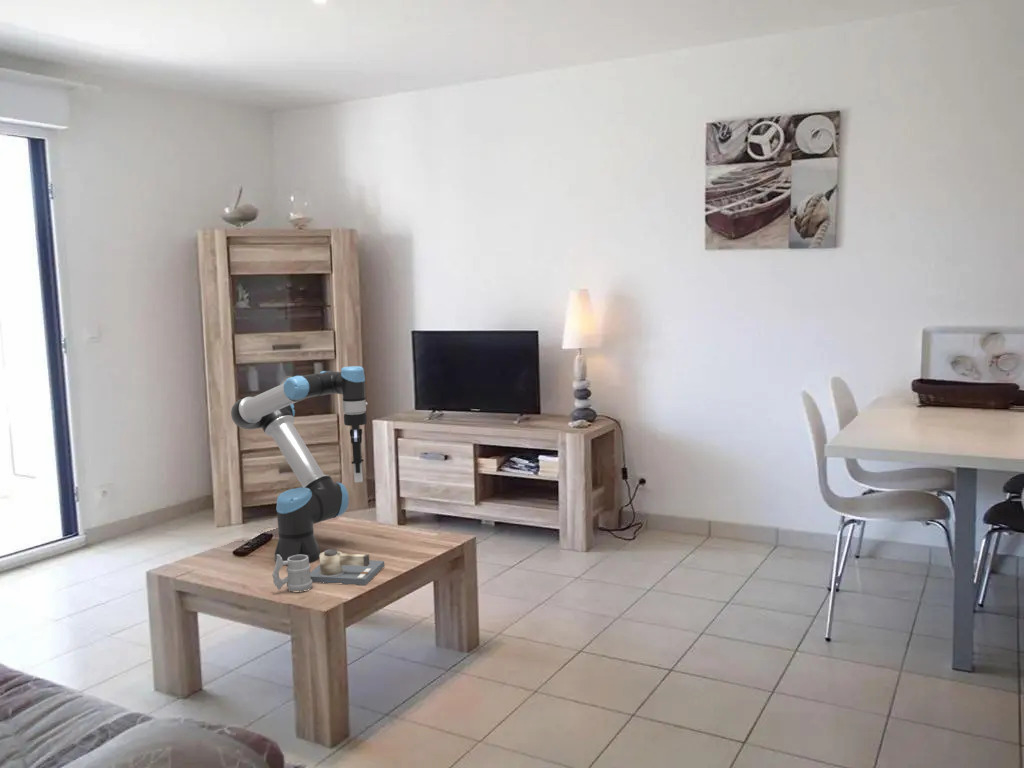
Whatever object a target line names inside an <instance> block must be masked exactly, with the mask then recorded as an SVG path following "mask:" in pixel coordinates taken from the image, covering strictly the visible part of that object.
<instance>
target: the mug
mask: <svg viewBox="0 0 1024 768" xmlns="http://www.w3.org/2000/svg"><path fill="white" fill-rule="evenodd" d="M283 566H287V567H286V572H287V576H286V577H284V578H281V577H280V570H281V569H282V567H283ZM310 572H311V564H310V563H309V557H308V556H307V555H294V556H291V557H289V558H288V559H287V561H283V560H282V557H281V556H280V555H278V554H277V561H276V562H275V565H274V568H273V572H272V579H273V580H272V581H273V584H274V587H276V589H277V590H280V589H281V588H283V586H284V585H286V587H287V590H290V591H299V592H300V591H304V590H308V589H310V588H311V589H312V584H313V583H312V579H311V577H310ZM311 589H310V590H311ZM290 591H289V592H290ZM308 591H309V590H308ZM300 593H301V592H300Z"/></svg>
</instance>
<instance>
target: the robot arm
mask: <svg viewBox="0 0 1024 768" xmlns="http://www.w3.org/2000/svg"><path fill="white" fill-rule="evenodd" d="M333 394H335V395H342V409H343V411H342V412H343V423H344V425H345V426H347V427H348V426H351V429H349V436H350V443H351V444H352V445H351V446H352V447H351V448H352V458H353V459H352V461H351V464H353V475H354V476H353V478H354V481H353V482H354V483H363V481H364V478H363V476H364V475H363V462H364V459H362V458H363V457H362V442H363V439H362V438H363V437H362V435H363V428H360V426H364V425H366V424H367V423H368V419H367V417H368V416H367V412H366V411H367V405H368V402H367V401H366V376H365V369H364V367H362V366H359V365H356V366H354V365H350V366H343V367H342V368H341V371H333V370H323V371H320V372H319V373H312V374H305V375H294V376H291V377H288V378H287V379H286V380H285V381H284V383H281V384H279V385H277V386H275V387H273V388H270V389H268V390H266V391H264V392H262V393H259V394H257V395H255V396H246V397H244V398H241V399H238V400H237V401H235V403H233V405H232V407H231V411H230V416H231V420H232V421H233V422H234V424H235V425H236V426H237V427H239V428H241V429H242V430H243V429H244V430H254V429H255V430H256V429H262V430H263V432H264V434H265V435H266V436H268V437H272V439H273V441H274V442H275V444H276V445H277V447H278V448H279V450H280V452H281V454H282V455H283V457H284V458H285V460H286V462H287V463H288V466H290V469H291V471H292V472H293V474H294V476H295V477H296V478H297V480H298V482H299V483H300V484H301V487H300V486H299V487H296V488H290V489H287V490H285V491H283V492H281V493H279V494H278V496H277V498H276V508H275V509H276V516H277V531H278V541H277V545H276V548H275V552H274V561H277V554H278V555H280V556H281V557H282V560H283V561H287V559H288V558H289V557H291V556H294V555H307V556H308V557H309V564H310V563H312V562H315V561H317V560H319V559H320V554H321V549H320V546H319V543H318V541H317V539H316V536H315V534H314V524H317V523H321V522H324V521H327V520H330V519H335V518H337V517H339V516H342V515H343V514H344V513H345V512H346V511H347V509H348V507H349V501H350V500H349V499H350V498H349V492H348V490H347V488H346V487H347V486H345V485H344V484H343V483H341V482H338V481H336V482H334V480H333V478H332V477H331V476H330V475H328V474H324V472H323V470H322V469H321V468H320V466H319V464H318V462H317V460H316V459H315V458H314V456H313V455H312V453H311V451H310V449H309V447H307V445H306V443H305V441H304V439H303V438H302V437H301V435H300V434H299V432H298V430H297V428H296V427H295V425H294V422H295V415H296V410H295V409H294V408H295V405H294V404H295V403H298V402H300V401H303V400H306V399H309V398H314V397H320V396H327V395H333Z"/></svg>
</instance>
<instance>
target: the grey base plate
mask: <svg viewBox="0 0 1024 768" xmlns="http://www.w3.org/2000/svg"><path fill="white" fill-rule="evenodd" d="M384 566H385V560H376V559H375V560H374V559H373V560H371V559H369V565H368V566H355V565H343V571H342V572H341V573H339V574H336V575H323V574H321V572H320V564H318V566H316V567H315V568H313V569H312V570H310V577H311V579H312V582H318V583H317V584H328V583H342V584H341V585H348V584H356V585H355V586H367V585H368V584H369V582H370V581H372V580H373V577H374V576H375V575H376V574H377V573H378V572H379V571H380V570H381V569H382V568H383V567H384ZM384 568H385V567H384ZM384 568H383V569H384ZM383 569H382V570H383ZM382 570H381V571H382ZM381 571H380V572H381ZM380 572H379V573H380ZM379 573H378V574H379ZM378 574H377V575H378ZM377 575H376V576H377ZM374 578H375V577H374ZM319 582H321V583H319ZM323 582H324V583H323Z"/></svg>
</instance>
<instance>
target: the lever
mask: <svg viewBox="0 0 1024 768" xmlns="http://www.w3.org/2000/svg"><path fill="white" fill-rule="evenodd" d="M369 560H370V554H367V553H366V554H361V553H360V554H359V553H343V552H342V551H339V550H338V549H336V548H329V549H325V550H324V551H323V552H320V557H319V565H320V572H321V574H323V575H336V574H339V573H341V572H342V571H343V565H355V566H368V565H369Z"/></svg>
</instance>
